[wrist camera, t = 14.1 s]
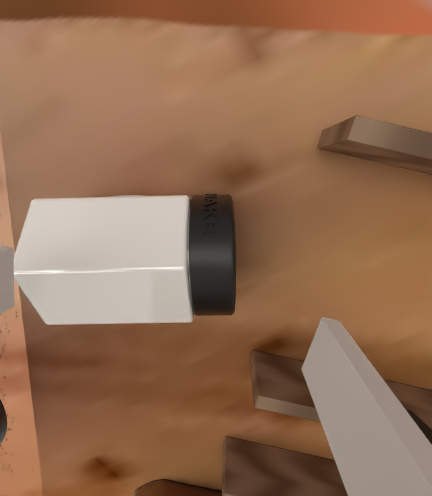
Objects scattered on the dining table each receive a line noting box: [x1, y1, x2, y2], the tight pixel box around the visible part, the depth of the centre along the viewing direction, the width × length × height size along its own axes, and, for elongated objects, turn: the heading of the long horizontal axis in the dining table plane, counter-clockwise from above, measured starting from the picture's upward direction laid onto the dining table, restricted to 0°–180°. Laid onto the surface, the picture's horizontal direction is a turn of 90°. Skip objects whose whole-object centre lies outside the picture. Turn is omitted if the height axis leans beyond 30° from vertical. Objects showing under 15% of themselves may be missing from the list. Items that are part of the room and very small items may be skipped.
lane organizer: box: [222, 116, 432, 496], centre depth 20 cm, size 22×32×5 cm
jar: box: [14, 194, 236, 325], centre depth 17 cm, size 9×8×12 cm
